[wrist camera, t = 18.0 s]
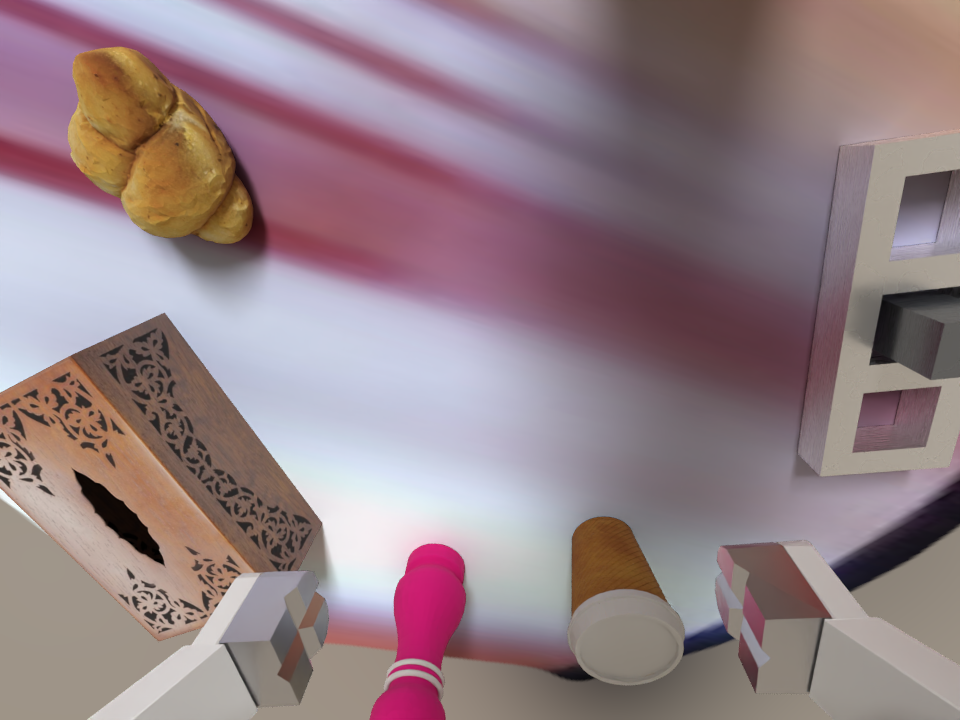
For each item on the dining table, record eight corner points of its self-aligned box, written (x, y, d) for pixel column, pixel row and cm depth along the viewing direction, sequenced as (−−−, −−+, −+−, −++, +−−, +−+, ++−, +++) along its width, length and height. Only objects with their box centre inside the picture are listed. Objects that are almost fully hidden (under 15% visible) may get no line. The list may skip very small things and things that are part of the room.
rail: (840, 146, 33) (875, 145, 30) (997, 122, 32) (1051, 119, 29) (797, 452, 43) (819, 476, 40) (915, 443, 42) (948, 467, 39)
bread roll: (289, 214, 38) (236, 229, 30) (199, 268, 40) (129, 294, 33) (182, 46, 34) (90, 16, 26) (87, 117, 36) (-22, 108, 28)
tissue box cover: (52, 371, 45) (-64, 426, 36) (166, 311, 42) (70, 355, 33) (218, 558, 54) (158, 641, 45) (323, 521, 51) (281, 602, 42)
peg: (859, 290, 37) (944, 323, 30) (914, 284, 37) (1015, 316, 30) (851, 337, 39) (930, 380, 32) (904, 332, 38) (997, 373, 31)
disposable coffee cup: (537, 540, 50) (544, 650, 39) (604, 487, 46) (633, 590, 35) (600, 587, 52) (625, 703, 41) (669, 539, 48) (715, 651, 37)
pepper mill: (482, 570, 52) (467, 797, 33) (433, 597, 54) (394, 825, 36) (439, 528, 50) (397, 747, 31) (390, 559, 52) (324, 779, 34)
